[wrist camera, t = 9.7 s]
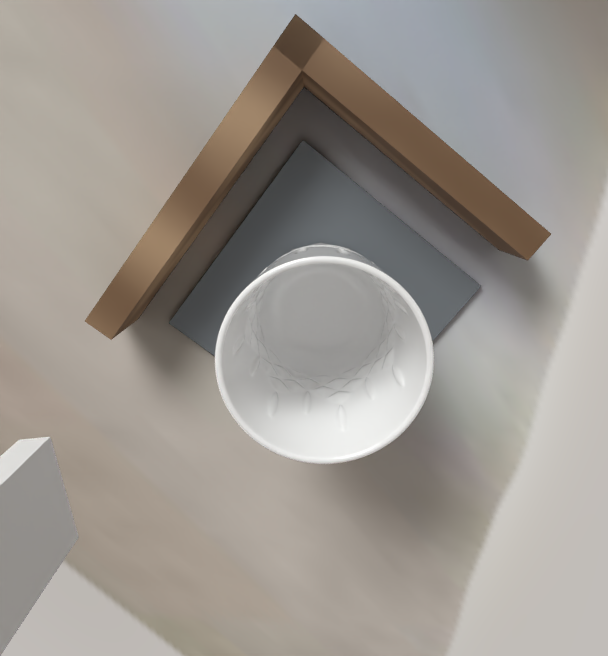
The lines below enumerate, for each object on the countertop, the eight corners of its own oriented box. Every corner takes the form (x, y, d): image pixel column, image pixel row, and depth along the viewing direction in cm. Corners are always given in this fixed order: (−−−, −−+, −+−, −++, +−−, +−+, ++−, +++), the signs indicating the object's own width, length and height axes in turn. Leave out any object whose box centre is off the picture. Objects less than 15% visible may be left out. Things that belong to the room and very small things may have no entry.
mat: (303, 140, 27) (302, 139, 27) (479, 284, 29) (481, 285, 28) (170, 321, 30) (168, 323, 29) (339, 444, 31) (339, 446, 31)
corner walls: (298, 39, 26) (295, 13, 22) (518, 226, 28) (551, 234, 24) (115, 302, 29) (84, 321, 25) (322, 451, 31) (323, 488, 28)
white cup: (355, 395, 30) (374, 495, 20) (226, 339, 29) (182, 415, 20) (420, 269, 28) (474, 313, 19) (283, 206, 28) (266, 218, 18)
